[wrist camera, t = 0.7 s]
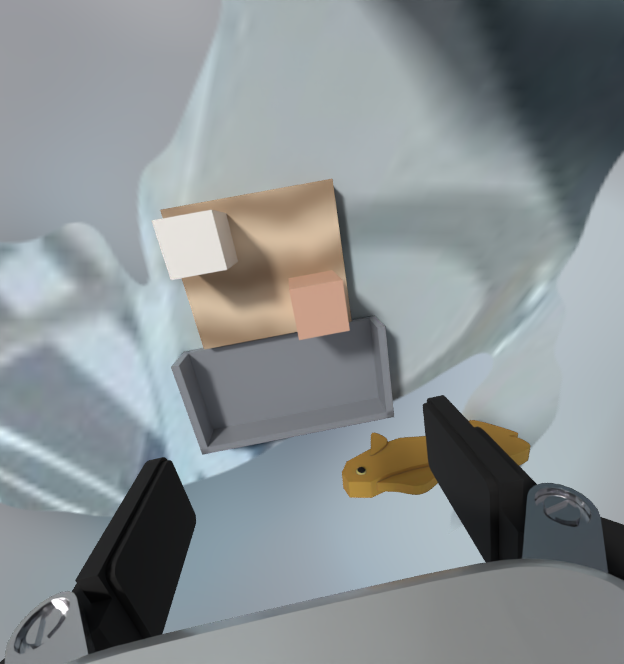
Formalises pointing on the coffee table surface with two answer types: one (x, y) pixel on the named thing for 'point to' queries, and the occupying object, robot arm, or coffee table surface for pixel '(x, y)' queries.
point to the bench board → (265, 261)
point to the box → (285, 386)
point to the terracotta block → (318, 304)
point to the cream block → (196, 243)
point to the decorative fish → (411, 463)
